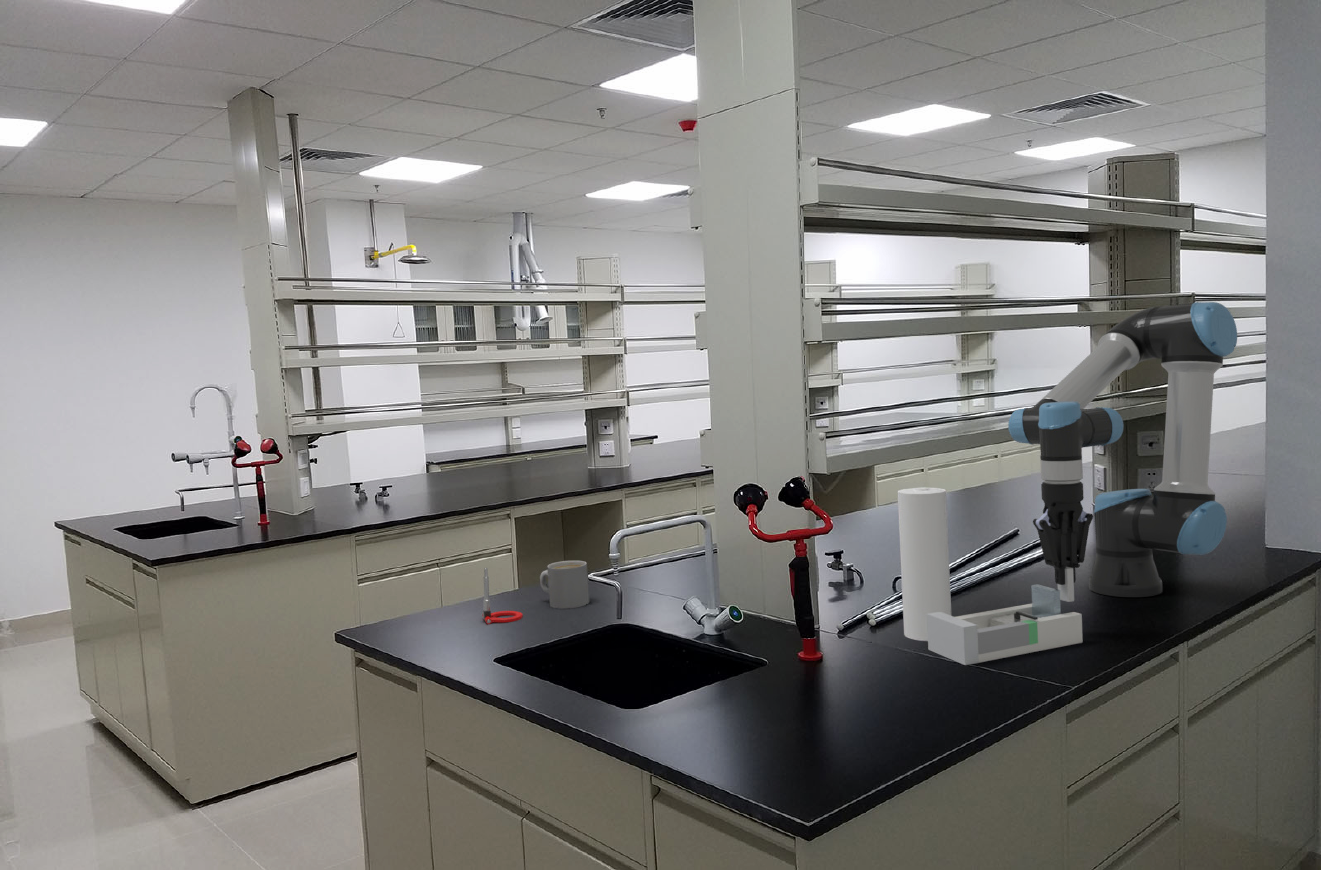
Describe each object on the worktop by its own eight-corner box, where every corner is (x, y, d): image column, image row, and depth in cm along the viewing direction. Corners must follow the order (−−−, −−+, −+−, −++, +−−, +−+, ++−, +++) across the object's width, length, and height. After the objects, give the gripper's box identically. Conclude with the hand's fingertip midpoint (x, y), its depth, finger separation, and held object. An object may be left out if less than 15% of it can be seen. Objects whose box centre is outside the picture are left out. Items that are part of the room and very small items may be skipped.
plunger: (1038, 624, 184) (1037, 584, 183) (1069, 634, 176) (1068, 592, 175) (972, 636, 179) (971, 595, 178) (1002, 647, 171) (1000, 604, 170)
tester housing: (1041, 628, 187) (1039, 594, 187) (1082, 642, 177) (1081, 606, 176) (928, 649, 178) (926, 613, 178) (965, 665, 168) (963, 627, 167)
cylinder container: (951, 628, 191) (945, 484, 189) (953, 641, 182) (946, 490, 180) (904, 627, 194) (897, 485, 192) (903, 640, 185) (896, 492, 183)
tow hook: (519, 614, 228) (481, 617, 225) (518, 562, 227) (480, 565, 224) (525, 622, 220) (486, 625, 217) (524, 568, 219) (484, 571, 216)
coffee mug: (597, 601, 234) (594, 562, 233) (569, 610, 227) (566, 570, 226) (561, 595, 243) (558, 558, 242) (532, 604, 235) (529, 565, 235)
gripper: (1073, 476, 186) (1077, 591, 188) (1021, 482, 182) (1025, 600, 183) (1103, 479, 179) (1107, 599, 180) (1049, 486, 175) (1053, 608, 176)
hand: (1066, 599), depth 182 cm, fingers closed
